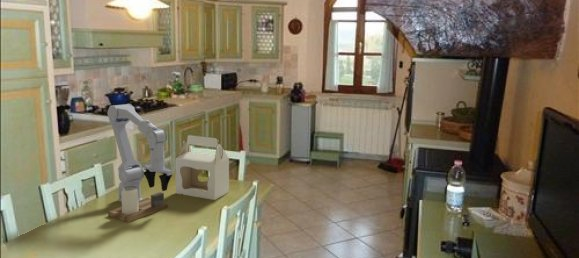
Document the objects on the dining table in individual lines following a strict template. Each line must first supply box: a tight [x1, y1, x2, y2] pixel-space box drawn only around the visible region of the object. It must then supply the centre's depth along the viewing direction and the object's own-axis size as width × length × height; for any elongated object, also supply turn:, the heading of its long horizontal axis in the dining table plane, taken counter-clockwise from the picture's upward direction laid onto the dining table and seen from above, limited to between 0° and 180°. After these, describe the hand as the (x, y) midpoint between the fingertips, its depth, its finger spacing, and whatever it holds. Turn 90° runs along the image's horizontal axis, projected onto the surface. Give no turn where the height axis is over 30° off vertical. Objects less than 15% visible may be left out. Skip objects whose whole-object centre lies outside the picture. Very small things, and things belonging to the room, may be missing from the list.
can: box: [121, 186, 139, 215], centre depth 185 cm, size 6×6×12 cm
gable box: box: [175, 134, 230, 201], centre depth 215 cm, size 22×13×28 cm, turn 68°
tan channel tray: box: [107, 191, 168, 223], centre depth 190 cm, size 12×21×7 cm, turn 150°
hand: (158, 188), depth 192 cm, fingers open, 7 cm apart
